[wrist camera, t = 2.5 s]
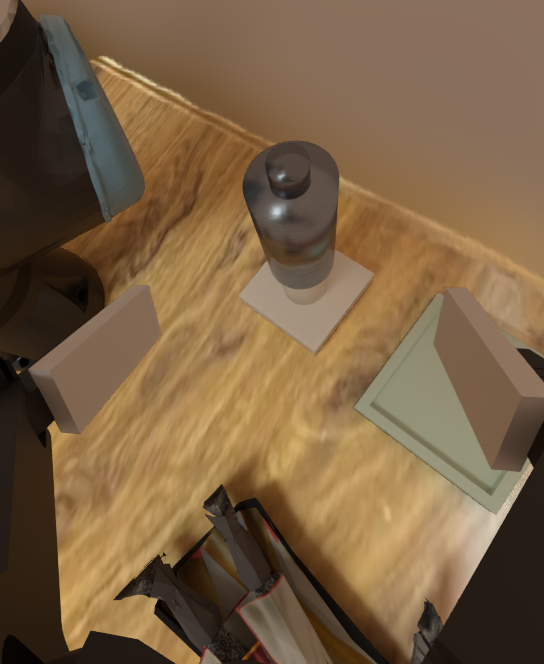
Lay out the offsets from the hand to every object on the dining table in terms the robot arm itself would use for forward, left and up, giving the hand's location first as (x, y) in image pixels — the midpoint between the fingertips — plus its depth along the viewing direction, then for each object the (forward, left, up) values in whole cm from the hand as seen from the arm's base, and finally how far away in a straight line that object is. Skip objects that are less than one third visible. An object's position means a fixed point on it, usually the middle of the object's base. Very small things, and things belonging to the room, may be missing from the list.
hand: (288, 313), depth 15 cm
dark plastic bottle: (-5, +7, -12) cm, 15 cm away
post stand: (-5, +7, -20) cm, 22 cm away
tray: (+13, +7, -20) cm, 25 cm away
